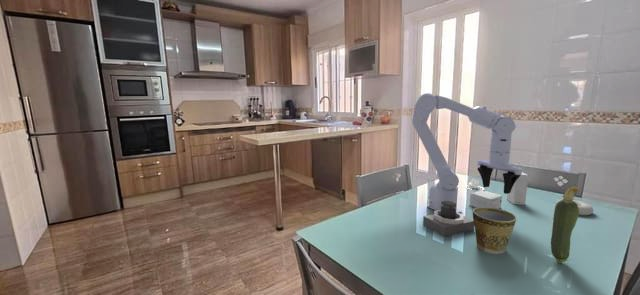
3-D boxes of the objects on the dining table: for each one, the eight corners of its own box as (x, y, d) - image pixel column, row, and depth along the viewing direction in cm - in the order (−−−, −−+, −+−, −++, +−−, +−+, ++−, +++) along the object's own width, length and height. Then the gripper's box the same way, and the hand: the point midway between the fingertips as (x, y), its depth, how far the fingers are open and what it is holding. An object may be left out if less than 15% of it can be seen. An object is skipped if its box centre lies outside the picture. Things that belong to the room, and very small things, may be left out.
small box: (489, 212, 100) (490, 199, 99) (468, 205, 107) (469, 192, 106) (501, 208, 103) (502, 195, 102) (481, 201, 110) (482, 189, 109)
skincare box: (525, 205, 106) (529, 175, 104) (513, 204, 106) (516, 174, 105) (517, 199, 112) (520, 171, 110) (506, 199, 112) (509, 170, 110)
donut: (564, 205, 106) (549, 208, 102) (566, 196, 106) (550, 200, 102) (598, 214, 97) (583, 219, 93) (600, 205, 96) (584, 209, 93)
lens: (437, 217, 88) (438, 203, 87) (445, 214, 91) (446, 199, 90) (451, 222, 85) (451, 207, 84) (458, 218, 87) (459, 203, 86)
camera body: (423, 224, 90) (423, 212, 90) (451, 218, 94) (451, 207, 94) (444, 236, 82) (444, 223, 81) (473, 229, 86) (474, 217, 85)
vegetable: (543, 256, 71) (553, 182, 68) (559, 255, 71) (569, 181, 68) (559, 266, 66) (570, 187, 63) (576, 265, 67) (588, 187, 64)
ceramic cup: (513, 262, 69) (517, 224, 67) (468, 251, 74) (471, 216, 72) (510, 240, 79) (514, 207, 78) (471, 232, 85) (474, 201, 83)
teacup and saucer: (468, 184, 133) (469, 176, 133) (487, 188, 128) (487, 179, 127) (462, 189, 127) (462, 180, 127) (481, 192, 122) (481, 184, 121)
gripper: (530, 154, 88) (525, 194, 90) (488, 147, 101) (485, 182, 103) (515, 155, 85) (510, 197, 87) (474, 148, 98) (471, 185, 101)
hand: (496, 189), depth 95 cm, fingers open, 7 cm apart
